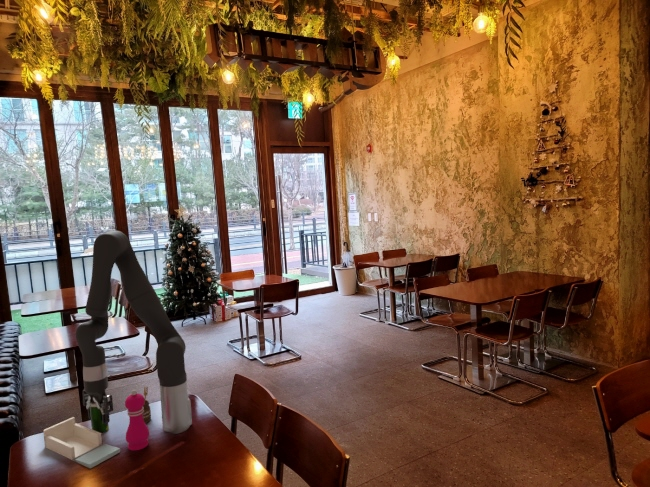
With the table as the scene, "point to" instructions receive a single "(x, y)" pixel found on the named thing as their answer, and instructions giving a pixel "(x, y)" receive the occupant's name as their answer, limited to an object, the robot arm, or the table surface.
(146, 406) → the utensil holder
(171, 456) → the table surface
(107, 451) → the panel
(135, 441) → the pepper mill
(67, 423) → the tray
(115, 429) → the table surface
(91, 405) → the beer can
